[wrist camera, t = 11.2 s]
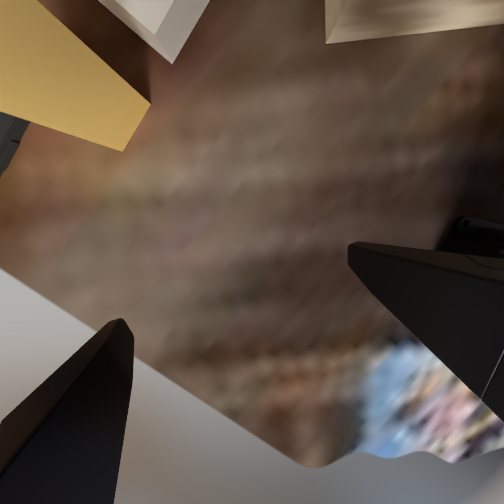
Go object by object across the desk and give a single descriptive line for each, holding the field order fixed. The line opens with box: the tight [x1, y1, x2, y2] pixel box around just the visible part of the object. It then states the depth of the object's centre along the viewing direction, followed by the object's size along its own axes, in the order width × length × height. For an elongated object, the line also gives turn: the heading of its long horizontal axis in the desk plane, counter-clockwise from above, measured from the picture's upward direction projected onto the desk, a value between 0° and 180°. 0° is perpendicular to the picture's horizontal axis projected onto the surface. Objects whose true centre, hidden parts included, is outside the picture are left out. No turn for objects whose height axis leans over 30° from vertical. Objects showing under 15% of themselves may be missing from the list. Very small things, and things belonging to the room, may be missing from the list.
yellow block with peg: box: [0, 0, 151, 152], centre depth 9 cm, size 4×4×14 cm
